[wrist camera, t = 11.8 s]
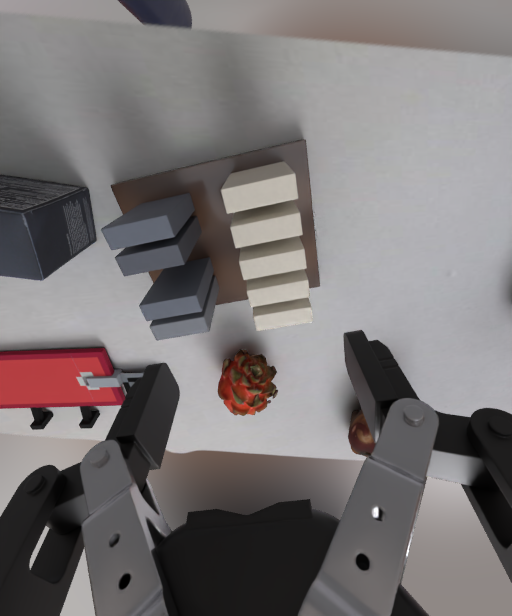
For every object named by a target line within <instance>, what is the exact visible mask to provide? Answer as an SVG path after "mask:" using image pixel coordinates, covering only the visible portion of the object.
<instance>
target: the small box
mask: <svg viewBox="0 0 512 616" xmlns="http://www.w3.org/2000/svg"><path fill="white" fill-rule="evenodd" d="M94 242H96V232H95V226H94V220H93V214H92V208H91V201H90V195H89V190H88V188H86V187H80V186H74V185H67V184H60V183H55V182H47V181H40V180H33V179H27V178H20V177H12V176H6V175H0V276H6V277H15V278H23V279H32V280H40V281H43V280H44V279H45V278H47V277H48V276H49V275H51V274H52V273H53V272H55V271H56V270H57V269H59V268H60V267H61V266H63V265H64V264H65V263H67V262H68V261H70V260H71V259H72V258H74V257H75V256H76V255H78V254H79V253H80V252H82V251H83V250H85V249H86V248H87V247H89V246H90V245H91V244H93V243H94Z"/></svg>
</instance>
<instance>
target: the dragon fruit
mask: <svg viewBox="0 0 512 616" xmlns="http://www.w3.org/2000/svg"><path fill="white" fill-rule="evenodd" d="M276 373H277V371H276V369H275V367H274V366H272V367H270V366H267V362H266V358H265V357H264V356H263V355H262V354H261V355H251V356H249V354H248V352H247V350H241V349H240V350H239V351H238V352H237V354H236V355H235V357H234V361H232V360H231V359H230V358H229V359H225V360H224V362H223V367H222V376H221V379H220V381H219V385H218V395H219V397H220V398H221V399H223V400H224V404H225V405H226V406H227V408H228V409H229V410H230V412H231V413H233V414H234V415H237V414H239V415H242V416H245V415H246V414H251V415H255V411H257V412H260V411H262V410H264V409H265V408H266V407H267V404H268V403H270V402H271V401H270V400H269V401H267V398H269V397H271V396H273V398H275V397H276V395H277V392H278V390H276V386H275V385H274V384H273V383H272V382H271V381H272V380H273V378H274V376H275V375H276Z"/></svg>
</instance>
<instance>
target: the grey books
mask: <svg viewBox="0 0 512 616" xmlns="http://www.w3.org/2000/svg"><path fill="white" fill-rule="evenodd" d="M194 211H195V208H194V205H193V202H192V199H191V195H190V193H186V194H182V195H178V196H173V197H169V198H164V199H160V200H155V201H151V202H147V203H142V204H139V205H138V206H136V207H135V208H133V209H132V210H130V211H129V212H127V213H125V214H124V215H122V216H121V217H119V218H118V219H116V220H114V221H113V222H111V223H110V224H108V225H107V226H105V227H103V228H102V229H101V231H102V233H103V235H104V237H105V239H106V241H107V243H108V245H109V247H110V249H111V250H115V249H120V248H125V247H126V248H125V249H124V250H123V251H121V252H120V253H119V254H118V255H117V256H116V257H115V259H116V261H117V263H118V265H119V267H120V269H121V271H122V273H123V275H124V276H129V275H134V274H139V273H144V272H149V271H154V270H159V269H163V270H162V272H161V273H160V275H159V276H158V278H157V279H156V281H155V282H154V284H153V285H152V287H151V288H150V290H149V291H148V293H147V294H146V296H145V297H144V299H143V300H142V302H141V303H140V305H139V307H140V309H141V311H142V313H143V315H144V317H145V319H146V321H151V320H153V321H152V323H151V325H150V328H151V330H152V332H153V334H154V336H155V338H156V340H163V339H169V338H175V337H180V336H186V335H192V334H198V333H204V332H209V331H210V326H211V322H212V318H213V313H214V309H215V305H216V300H217V296H218V292H219V285H218V282H217V279H216V276H213V272H214V269H213V266H212V263H211V260H210V257H208V258H203V259H198V260H193V261H188V262H186V261H187V259H188V257H189V255H190V253H191V252H192V250H193V248H194V246H195V244H196V242H197V240H198V238H199V236H200V235H201V233H202V231H201V227H200V224H199V221H198V218H197V216H195V217H190V216H191V215H192V213H193V212H194ZM189 217H190V218H189Z"/></svg>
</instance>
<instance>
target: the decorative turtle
mask: <svg viewBox="0 0 512 616" xmlns="http://www.w3.org/2000/svg"><path fill="white" fill-rule="evenodd" d="M348 439H349V442H350V445H351V449H352V451H353V452H354V453H356V454H359V455H363V456H366V457H368V456H371V454H372V452H373V450H374V447H375V445H376V443H374V440H373V437H372V435H371V432H370V430H369V427H368V424H367V422H366V419H365V416H364V414H363V411H362V409H361V410H360V411H353V412H352V417H351V421H350V428H349V434H348Z"/></svg>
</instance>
